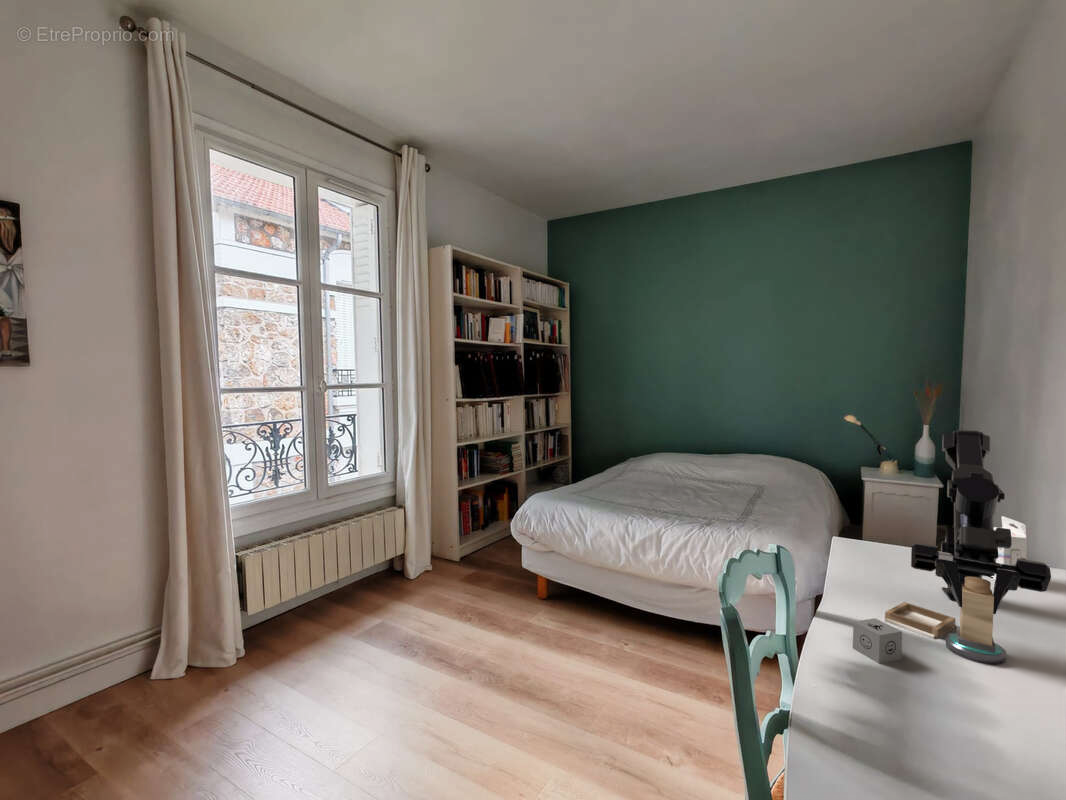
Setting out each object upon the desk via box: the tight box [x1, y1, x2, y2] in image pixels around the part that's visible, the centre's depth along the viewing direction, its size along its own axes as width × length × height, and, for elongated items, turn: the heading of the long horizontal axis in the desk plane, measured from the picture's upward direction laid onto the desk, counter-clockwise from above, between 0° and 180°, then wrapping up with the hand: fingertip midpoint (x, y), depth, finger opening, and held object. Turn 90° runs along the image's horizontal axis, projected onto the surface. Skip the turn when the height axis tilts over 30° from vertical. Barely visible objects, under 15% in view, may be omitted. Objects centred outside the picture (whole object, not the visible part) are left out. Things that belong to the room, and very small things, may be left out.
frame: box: [884, 601, 956, 639], centre depth 98 cm, size 10×9×2 cm
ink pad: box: [945, 632, 1007, 666], centre depth 88 cm, size 8×8×2 cm
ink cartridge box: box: [991, 515, 1028, 580], centre depth 121 cm, size 9×5×15 cm, turn 168°
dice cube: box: [852, 617, 903, 664], centre depth 87 cm, size 5×5×5 cm
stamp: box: [956, 576, 996, 653], centre depth 88 cm, size 5×5×11 cm
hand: (977, 609), depth 86 cm, fingers closed on stamp, 4 cm apart
